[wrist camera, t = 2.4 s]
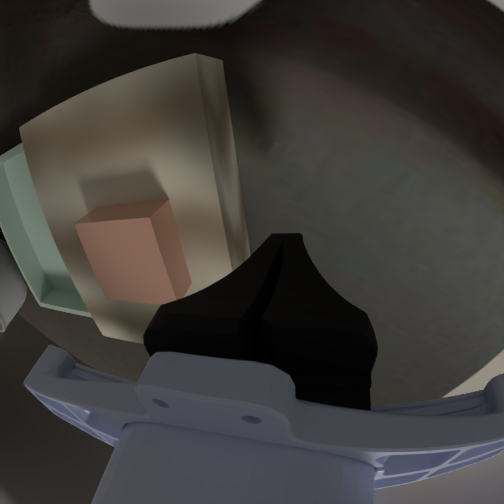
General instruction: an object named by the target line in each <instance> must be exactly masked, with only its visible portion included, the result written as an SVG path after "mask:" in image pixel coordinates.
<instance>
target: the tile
mask: <svg viewBox="0 0 504 504" xmlns="http://www.w3.org/2000/svg"><path fill="white" fill-rule="evenodd" d="M74 225H75V228H76V230H77V233H78V235H79V238H80V240H81V243H82V245H83V248H84V250H85V253H86V255H87V257H88V260H89V262H90V264H91V266H92V269H93V271H94V273H95V275H96V277H97V280H98V282H99V284H100V286H101V288H102V290H103V292H104V294H105V296H106V298H107V299H112V300H120V301H129V302H139V303H149V304H159V305H162V304H166V303H169V302H172V301H175V300H178V299H181V298H184V296H185V294H186V292H187V291H188V289H189V287H190V285H191V283H192V281H191V277H190V274H189V270H188V267H187V264H186V260H185V257H184V253H183V249H182V246H181V242H180V238H179V235H178V231H177V227H176V223H175V220H174V216H173V212H172V208H171V204H170V200H169V199H166V200H156V201H146V202H137V203H128V204H119V205H111V206H103V207H96V208H94V209H93V210H92V211H90V212H89V213H88V214H86V215H85V216H84V217H83V218H81V219H80V220H79V221H77V222H76V223H75V224H74Z"/></svg>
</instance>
